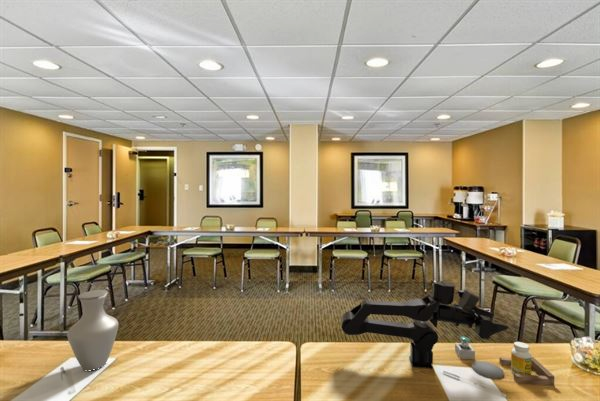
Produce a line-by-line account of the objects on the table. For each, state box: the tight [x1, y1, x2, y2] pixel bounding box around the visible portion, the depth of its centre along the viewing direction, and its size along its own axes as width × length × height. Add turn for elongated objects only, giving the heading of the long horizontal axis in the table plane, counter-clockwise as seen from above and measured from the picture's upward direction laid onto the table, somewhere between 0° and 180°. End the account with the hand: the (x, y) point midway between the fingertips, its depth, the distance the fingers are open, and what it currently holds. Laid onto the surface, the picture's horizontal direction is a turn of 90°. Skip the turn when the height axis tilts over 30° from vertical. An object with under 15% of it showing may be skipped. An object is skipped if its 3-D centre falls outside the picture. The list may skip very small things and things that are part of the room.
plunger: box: [459, 335, 471, 349], centre depth 111 cm, size 3×3×4 cm
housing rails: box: [498, 356, 555, 387], centre depth 100 cm, size 10×11×3 cm
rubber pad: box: [471, 360, 505, 380], centre depth 102 cm, size 9×9×1 cm
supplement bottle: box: [510, 341, 533, 375], centre depth 100 cm, size 5×5×10 cm
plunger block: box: [454, 342, 476, 360], centre depth 111 cm, size 5×5×3 cm
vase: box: [66, 289, 120, 371], centre depth 104 cm, size 14×14×25 cm
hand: (500, 320), depth 102 cm, fingers open, 9 cm apart
